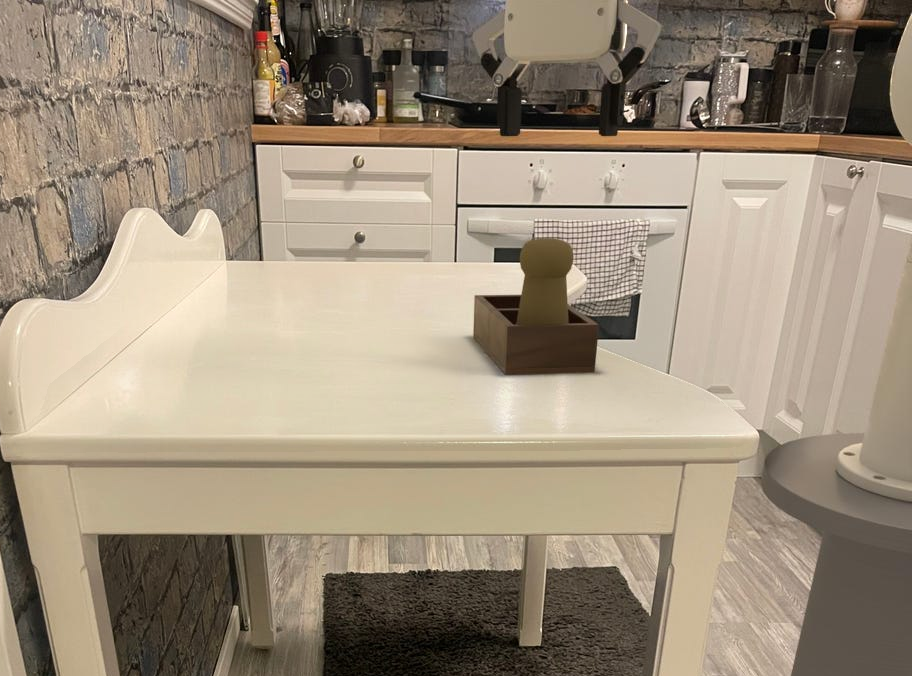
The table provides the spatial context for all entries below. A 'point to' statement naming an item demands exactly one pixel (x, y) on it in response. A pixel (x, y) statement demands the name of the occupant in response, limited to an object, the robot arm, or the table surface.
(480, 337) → the divided wooden box
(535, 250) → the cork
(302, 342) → the table surface
